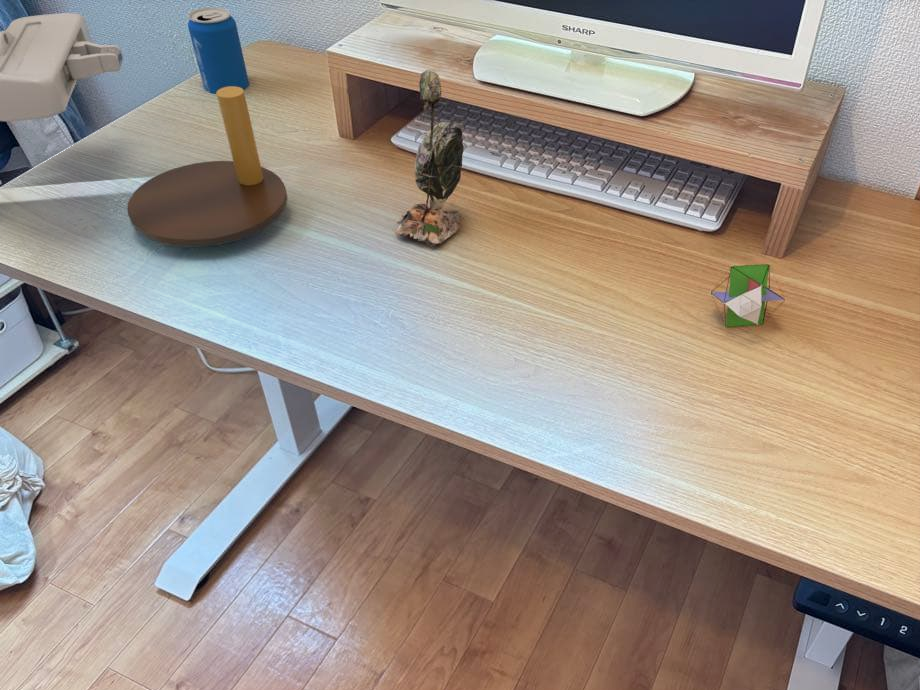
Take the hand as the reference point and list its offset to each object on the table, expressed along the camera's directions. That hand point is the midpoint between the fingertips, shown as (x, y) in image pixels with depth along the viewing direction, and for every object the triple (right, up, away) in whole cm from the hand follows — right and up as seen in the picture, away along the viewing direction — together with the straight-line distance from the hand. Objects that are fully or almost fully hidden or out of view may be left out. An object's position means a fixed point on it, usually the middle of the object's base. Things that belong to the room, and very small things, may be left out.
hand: (120, 57), depth 88 cm
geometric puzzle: (+69, -29, -1) cm, 75 cm away
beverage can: (0, +8, +32) cm, 33 cm away
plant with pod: (+33, -16, +10) cm, 38 cm away
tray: (+7, -14, +8) cm, 18 cm away
